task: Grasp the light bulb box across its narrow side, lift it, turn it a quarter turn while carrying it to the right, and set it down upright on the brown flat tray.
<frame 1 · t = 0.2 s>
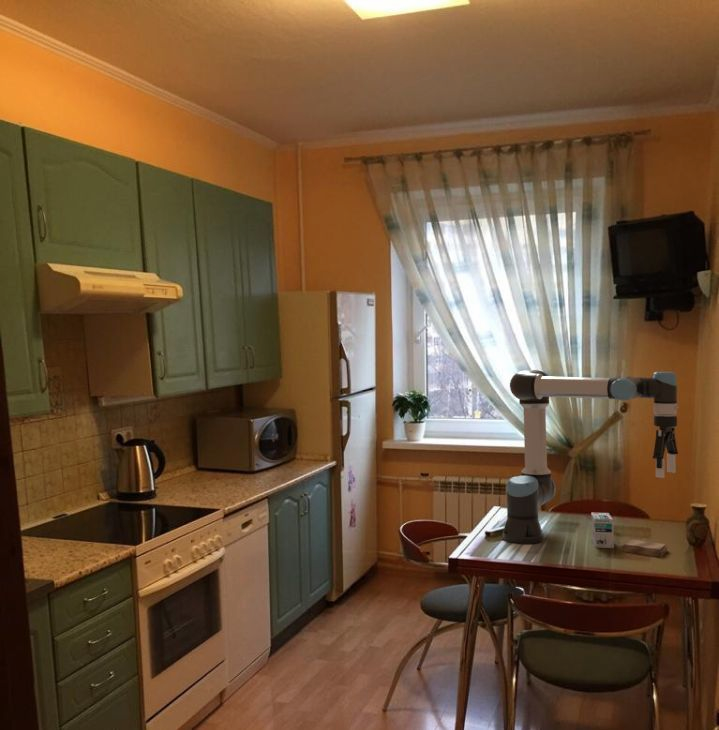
hand: (665, 474, 235), 27 cm above the table, fingers open, 13 cm apart
brown flat tray: (644, 551, 237), on the table
light bulb box: (602, 544, 246), on the table
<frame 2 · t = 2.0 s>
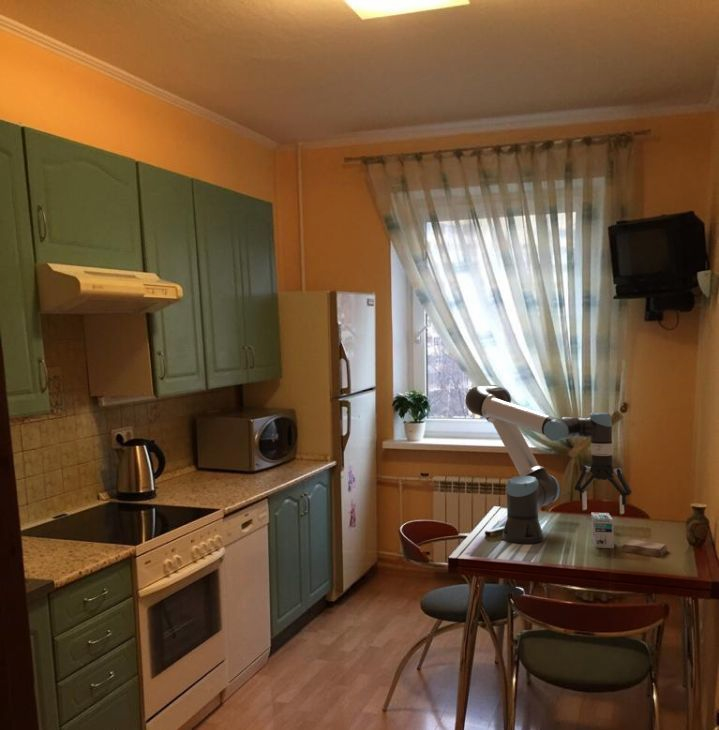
hand: (603, 511, 246), 12 cm above the table, fingers open, 13 cm apart
nothing on the table moved.
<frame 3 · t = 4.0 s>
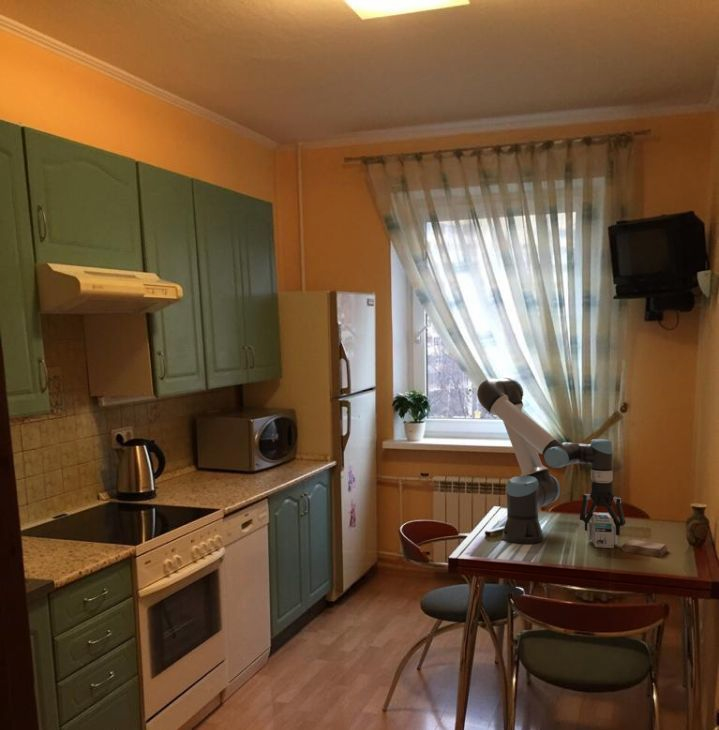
hand: (602, 541, 246), 1 cm above the table, fingers closed on light bulb box, 9 cm apart
light bulb box: (602, 544, 246), on the table, touching gripper
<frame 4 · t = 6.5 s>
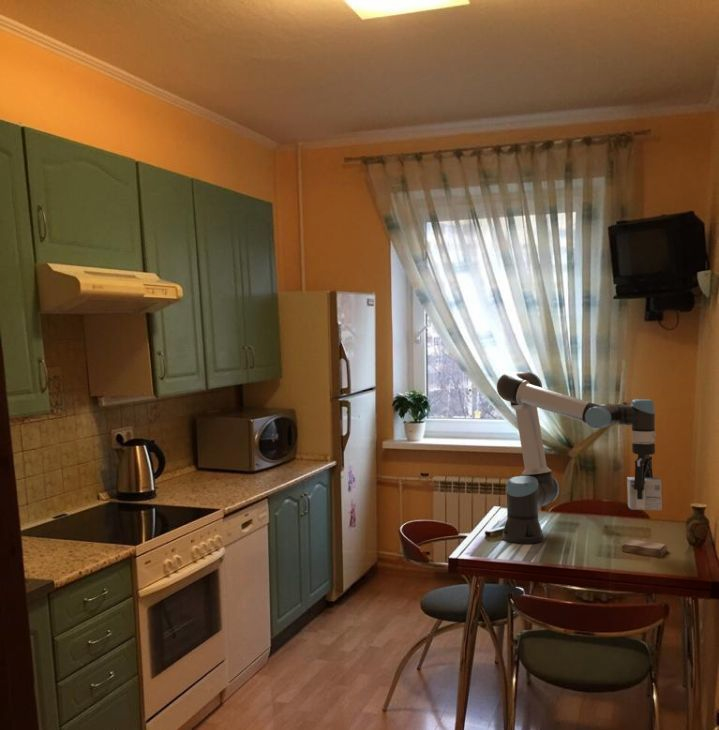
hand: (644, 505, 236), 16 cm above the table, fingers closed on light bulb box, 9 cm apart
light bulb box: (644, 508, 236), point 15 cm above the table, touching gripper
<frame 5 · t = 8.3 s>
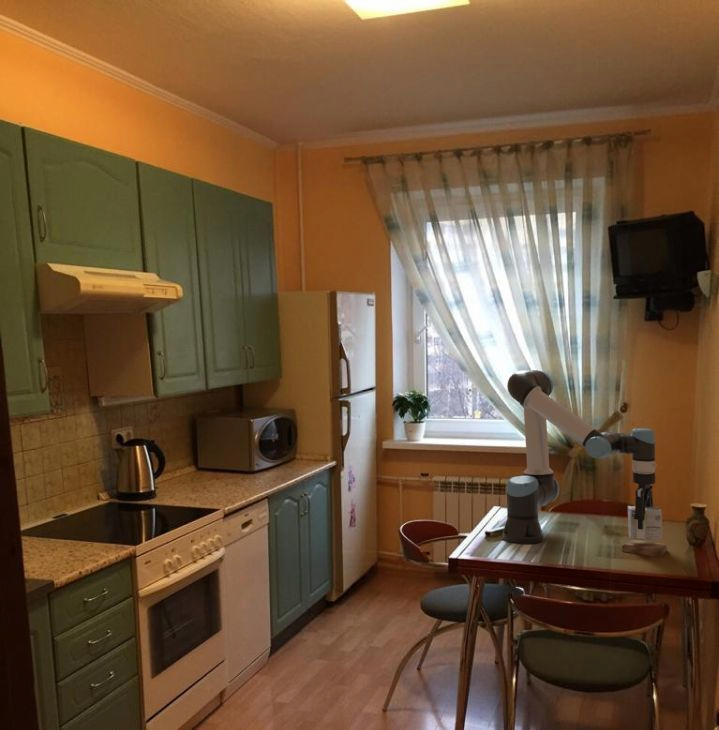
hand: (644, 535, 236), 6 cm above the table, fingers closed on light bulb box, 9 cm apart
light bulb box: (644, 538, 236), point 5 cm above the table, touching gripper
when the fingers open (5 cm above the table, at t = 9.4 s): light bulb box drops 1 cm, resting on brown flat tray.
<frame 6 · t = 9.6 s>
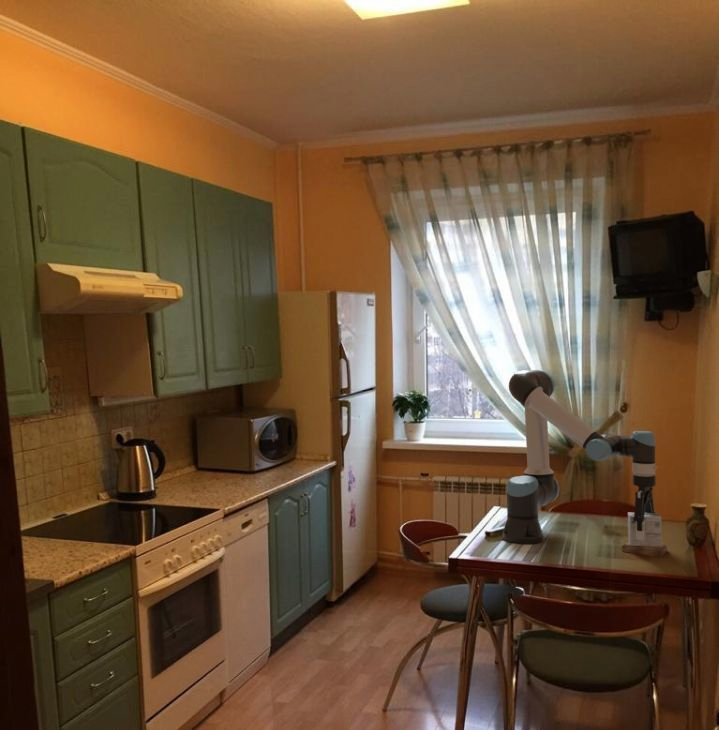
hand: (644, 536, 236), 5 cm above the table, fingers open, 11 cm apart
light bulb box: (644, 544, 236), point 2 cm above the table, touching brown flat tray
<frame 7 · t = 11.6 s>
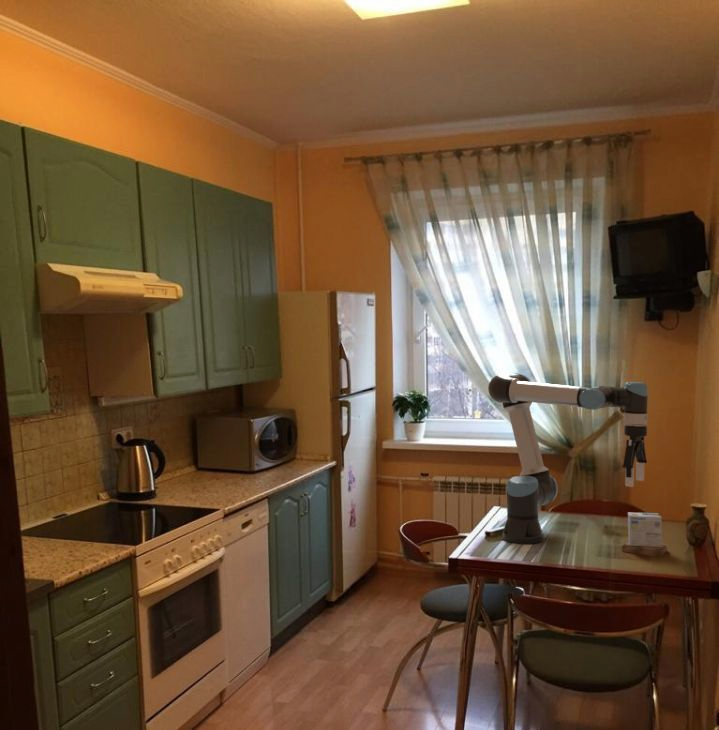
hand: (634, 483, 240), 24 cm above the table, fingers open, 13 cm apart
nothing on the table moved.
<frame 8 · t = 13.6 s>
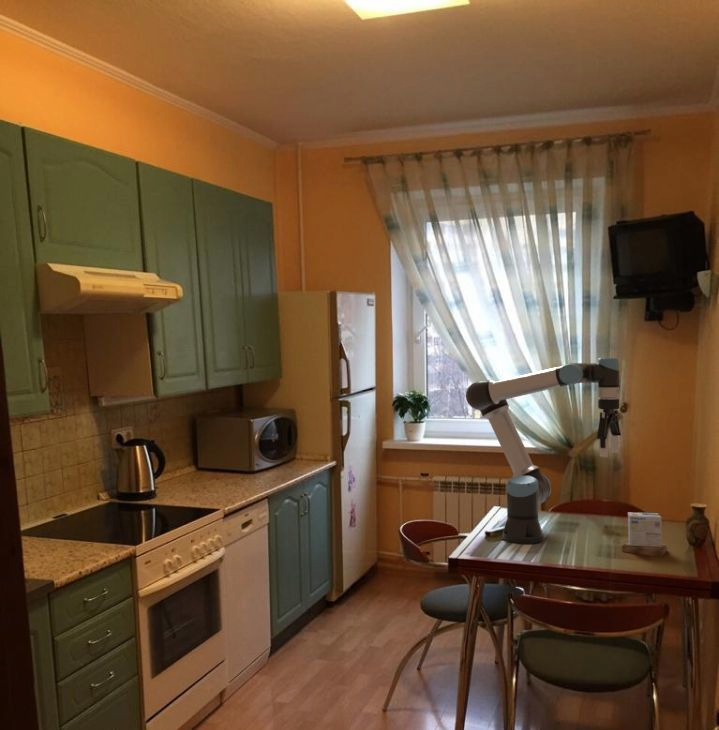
hand: (609, 454, 250), 33 cm above the table, fingers open, 13 cm apart
nothing on the table moved.
at the end: light bulb box 0.1 cm from the brown flat tray (horizontally); light bulb box touching brown flat tray; light bulb box tilted 0° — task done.
